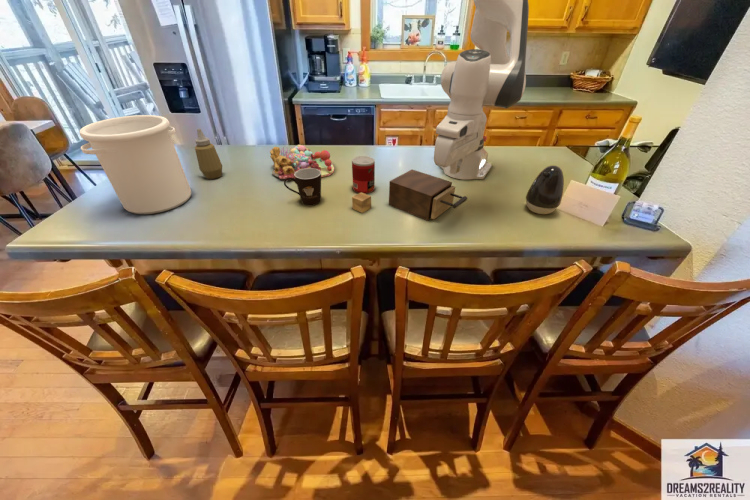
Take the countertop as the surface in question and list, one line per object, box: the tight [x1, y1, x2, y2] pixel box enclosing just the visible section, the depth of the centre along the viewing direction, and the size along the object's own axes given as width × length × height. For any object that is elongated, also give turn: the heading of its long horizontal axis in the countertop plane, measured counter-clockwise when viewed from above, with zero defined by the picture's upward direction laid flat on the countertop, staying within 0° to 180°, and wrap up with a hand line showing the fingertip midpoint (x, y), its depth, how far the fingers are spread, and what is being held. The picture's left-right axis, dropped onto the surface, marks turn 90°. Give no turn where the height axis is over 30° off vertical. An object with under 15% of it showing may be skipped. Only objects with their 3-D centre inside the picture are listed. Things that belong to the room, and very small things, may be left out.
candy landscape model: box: [269, 144, 335, 182], centre depth 128 cm, size 25×24×9 cm
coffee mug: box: [283, 168, 322, 207], centre depth 106 cm, size 12×9×10 cm
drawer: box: [430, 185, 468, 220], centre depth 102 cm, size 20×11×7 cm, turn 50°
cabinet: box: [388, 169, 453, 221], centre depth 104 cm, size 16×13×9 cm
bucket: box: [79, 114, 192, 215], centre depth 101 cm, size 26×22×25 cm
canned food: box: [351, 155, 376, 194], centre depth 113 cm, size 8×8×11 cm
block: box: [351, 192, 372, 214], centre depth 104 cm, size 4×4×4 cm
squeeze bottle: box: [194, 128, 223, 180], centre depth 119 cm, size 8×8×18 cm
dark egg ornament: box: [525, 165, 565, 215], centre depth 100 cm, size 10×10×15 cm
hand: (454, 172), depth 92 cm, fingers closed
